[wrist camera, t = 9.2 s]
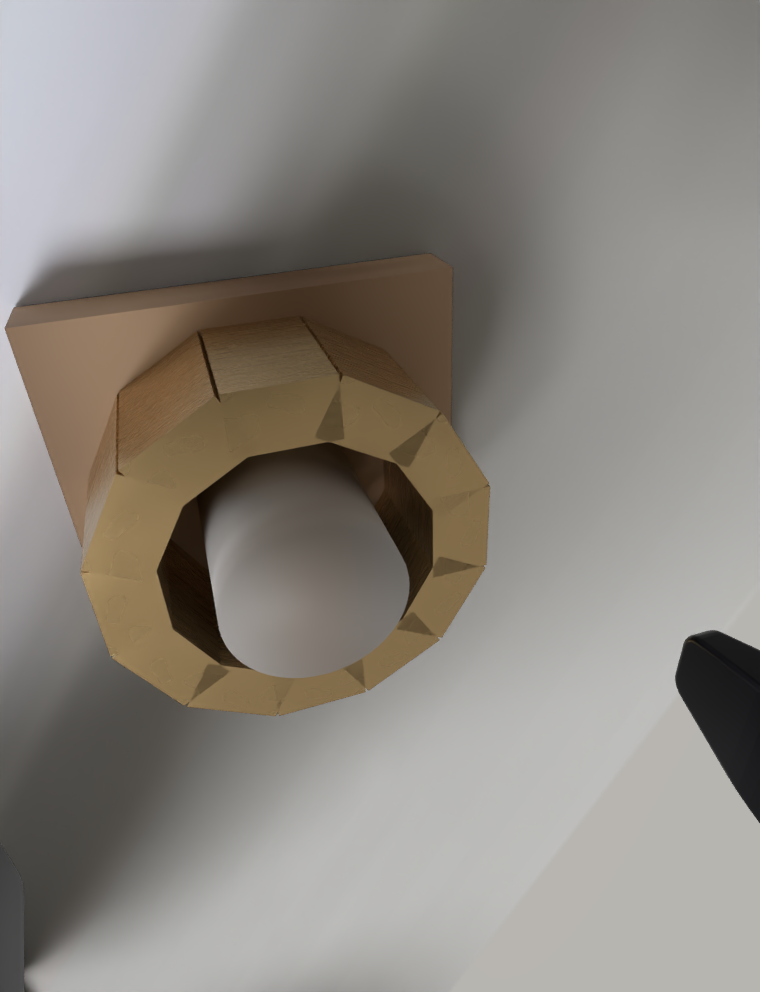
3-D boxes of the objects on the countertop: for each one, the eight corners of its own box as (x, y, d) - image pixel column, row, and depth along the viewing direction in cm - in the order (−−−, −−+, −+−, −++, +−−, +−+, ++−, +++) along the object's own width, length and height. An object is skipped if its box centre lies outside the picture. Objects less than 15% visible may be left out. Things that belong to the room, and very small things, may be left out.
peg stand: (124, 632, 17) (125, 822, 13) (14, 307, 12) (-42, 433, 8) (432, 559, 19) (522, 704, 14) (430, 253, 14) (558, 333, 10)
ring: (141, 645, 16) (145, 752, 13) (46, 351, 12) (27, 426, 9) (431, 575, 17) (481, 660, 15) (429, 296, 13) (496, 348, 11)
